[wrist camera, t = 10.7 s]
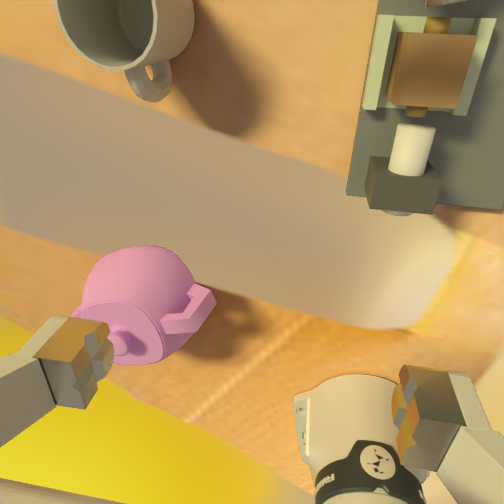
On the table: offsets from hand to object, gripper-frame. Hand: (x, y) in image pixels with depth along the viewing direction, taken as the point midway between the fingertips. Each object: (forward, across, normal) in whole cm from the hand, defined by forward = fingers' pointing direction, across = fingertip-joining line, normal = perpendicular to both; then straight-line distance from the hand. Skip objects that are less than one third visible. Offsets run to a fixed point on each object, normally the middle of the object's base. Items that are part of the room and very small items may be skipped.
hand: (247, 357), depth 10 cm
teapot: (+29, +17, +21) cm, 40 cm away
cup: (+29, +13, -7) cm, 33 cm away
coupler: (+28, -9, -5) cm, 30 cm away
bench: (+29, -12, -5) cm, 32 cm away
